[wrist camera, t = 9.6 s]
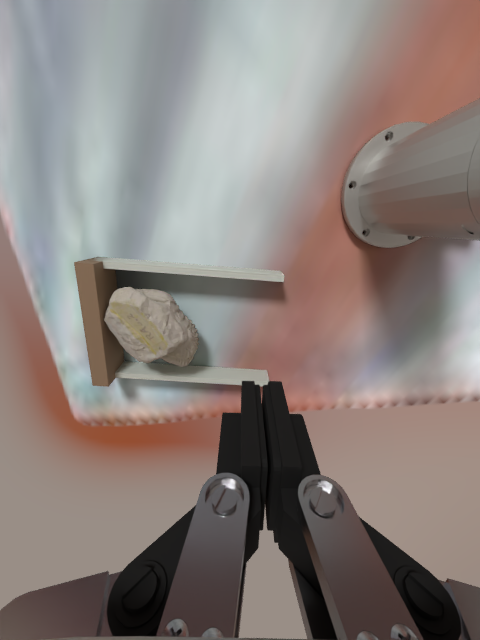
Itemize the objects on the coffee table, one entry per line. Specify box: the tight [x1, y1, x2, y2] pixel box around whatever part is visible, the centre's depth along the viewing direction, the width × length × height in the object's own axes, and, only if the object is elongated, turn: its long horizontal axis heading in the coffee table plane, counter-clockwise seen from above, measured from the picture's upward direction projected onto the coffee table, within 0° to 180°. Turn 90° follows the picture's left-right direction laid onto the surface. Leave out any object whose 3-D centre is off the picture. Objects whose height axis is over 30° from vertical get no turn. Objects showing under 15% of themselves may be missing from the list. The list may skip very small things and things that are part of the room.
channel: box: [74, 257, 284, 386], centre depth 32 cm, size 23×16×5 cm
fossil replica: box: [104, 287, 199, 367], centre depth 31 cm, size 12×8×10 cm
